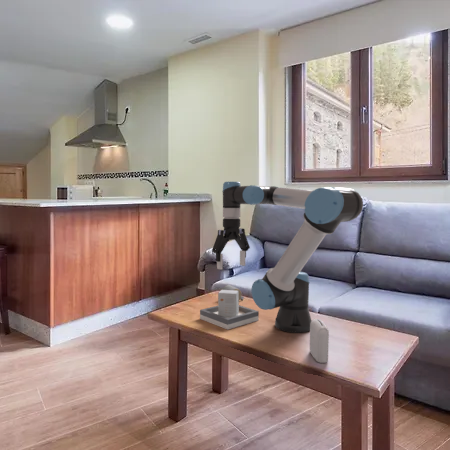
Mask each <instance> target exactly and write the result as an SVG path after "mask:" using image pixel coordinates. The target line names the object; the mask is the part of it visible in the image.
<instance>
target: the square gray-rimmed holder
mask: <svg viewBox="0 0 450 450" xmlns="http://www.w3.org/2000/svg"><path fill="white" fill-rule="evenodd" d="M259 312H260V311H259V310H256V309H253V308H249V307H247V306H243V305H241V304H239V314H238V315H237V316H234V317H223V316H220V315H218V305H215V306H211V307H210V306H209V307H207V308H203V309H200V310H199V319H200V320H202V321H205V322H207V323H210V324H213V325H214V326H217V327H220V328H222V329H225V330H232V329H234V328H238V327H242V326H244V325H248V324H251V323H254V322H258V321H259V318H260V317H259V314H260V313H259Z"/></svg>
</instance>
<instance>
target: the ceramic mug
mask: <svg viewBox="0 0 450 450" xmlns="http://www.w3.org/2000/svg"><path fill="white" fill-rule="evenodd" d="M222 290H234V291H238V293H239V301H240V300H244V298H245V297H244V296H243V295H242V291H241V290H240V288H238V287H236V286H234V285H231V284H227V285H225V286H224V287H223V288H222Z"/></svg>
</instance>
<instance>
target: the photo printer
mask: <svg viewBox="0 0 450 450" xmlns="http://www.w3.org/2000/svg"><path fill="white" fill-rule="evenodd" d="M311 320H312V321H311V323H310V331H309V352H310V354H311V355H312V357H313V359H314V360H315V361H316V362H318V363H319V364H320V363H321V364H326V363H327V362H328V361H329V343H330V342H329V340H330V339H329V337H330V334H329V331H330V330H329V329H328V327H327V325H326V323H325V322H324V321H323V320H321V319H319V318H314V319H311Z"/></svg>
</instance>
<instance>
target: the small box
mask: <svg viewBox="0 0 450 450" xmlns="http://www.w3.org/2000/svg"><path fill="white" fill-rule="evenodd" d="M239 301H240V300H239V293H238V291H234V290H223V289H221V290H219V292H218V293H217V303H218V304H217V306H218V315H220V316H223V317H234V316H237V315H238V314H239V305H240V302H239Z"/></svg>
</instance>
